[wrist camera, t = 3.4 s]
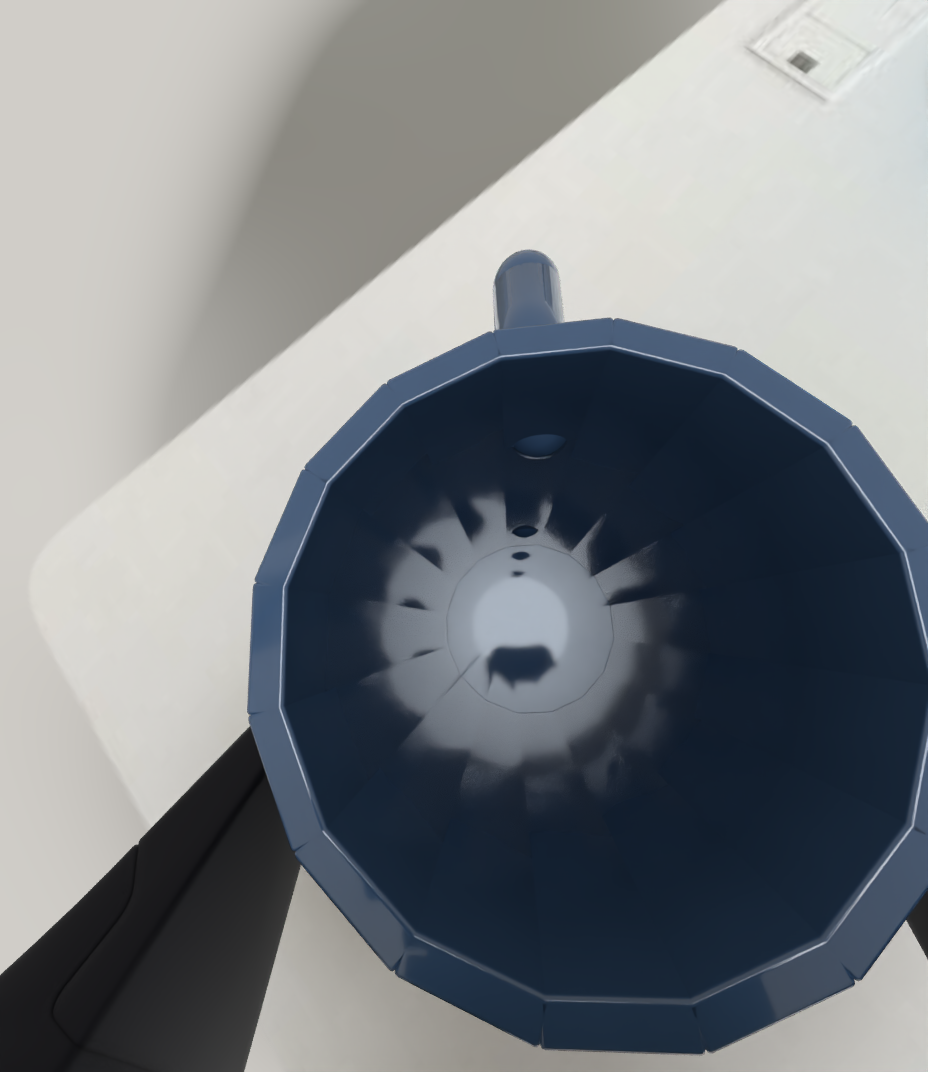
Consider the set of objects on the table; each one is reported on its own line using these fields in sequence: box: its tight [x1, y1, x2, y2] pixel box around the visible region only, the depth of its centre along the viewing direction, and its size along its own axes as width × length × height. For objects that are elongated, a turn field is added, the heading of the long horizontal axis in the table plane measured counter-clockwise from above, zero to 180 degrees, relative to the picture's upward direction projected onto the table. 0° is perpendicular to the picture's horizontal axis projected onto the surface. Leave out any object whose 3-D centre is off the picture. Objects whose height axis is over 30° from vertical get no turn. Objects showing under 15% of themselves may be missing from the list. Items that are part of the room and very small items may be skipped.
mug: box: [247, 249, 928, 1056], centre depth 11 cm, size 10×7×13 cm
